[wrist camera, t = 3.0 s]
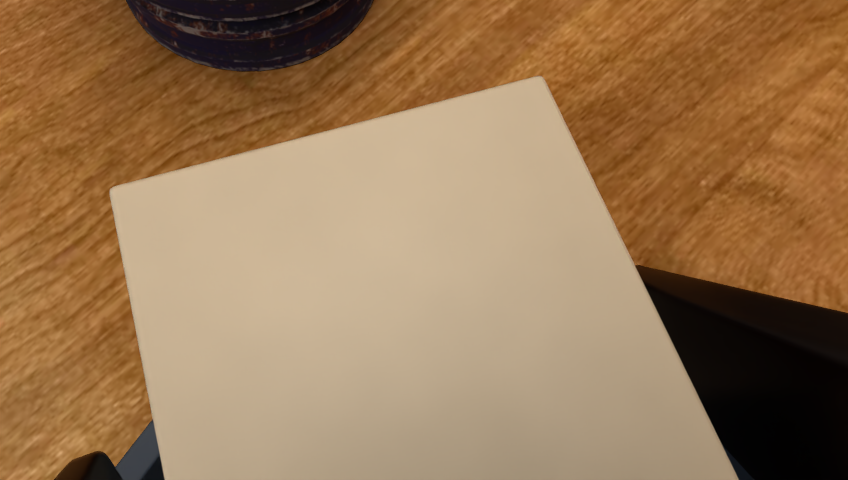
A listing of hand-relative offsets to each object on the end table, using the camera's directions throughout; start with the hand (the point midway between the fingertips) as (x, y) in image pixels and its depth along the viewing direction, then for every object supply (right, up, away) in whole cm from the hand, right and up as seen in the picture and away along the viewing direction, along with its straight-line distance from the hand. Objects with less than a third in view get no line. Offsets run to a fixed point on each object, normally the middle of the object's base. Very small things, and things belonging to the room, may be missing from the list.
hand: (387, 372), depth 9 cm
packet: (0, -3, +6) cm, 7 cm away
